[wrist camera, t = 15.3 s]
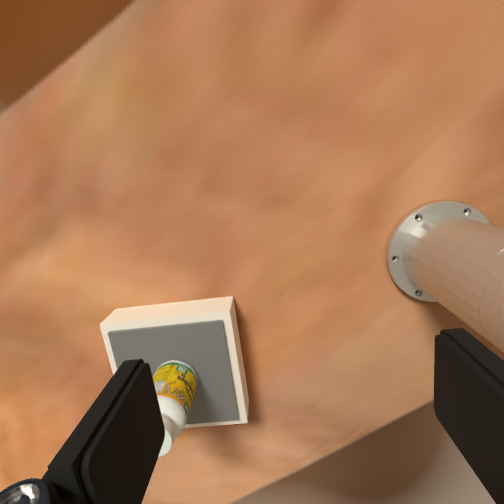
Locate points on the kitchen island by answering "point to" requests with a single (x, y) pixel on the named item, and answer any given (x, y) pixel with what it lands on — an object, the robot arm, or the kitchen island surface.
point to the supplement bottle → (174, 397)
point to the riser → (187, 352)
